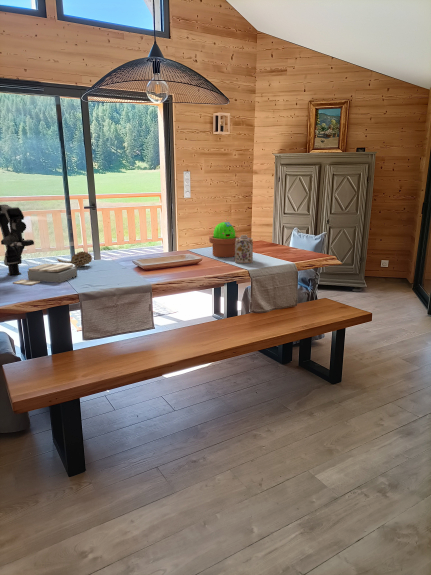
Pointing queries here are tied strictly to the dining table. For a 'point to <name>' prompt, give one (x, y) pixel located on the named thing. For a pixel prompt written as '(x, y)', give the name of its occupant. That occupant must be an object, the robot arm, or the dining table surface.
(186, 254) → the dining table surface
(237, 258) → the decorative jar
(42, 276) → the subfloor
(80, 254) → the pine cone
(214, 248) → the potted cactus
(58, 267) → the board
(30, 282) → the plank
